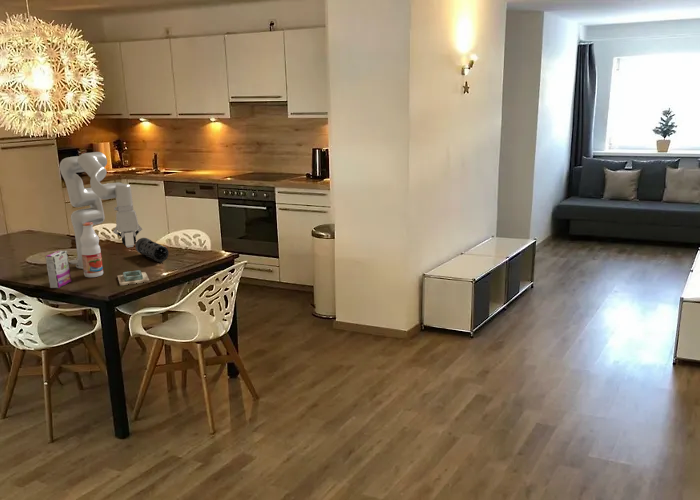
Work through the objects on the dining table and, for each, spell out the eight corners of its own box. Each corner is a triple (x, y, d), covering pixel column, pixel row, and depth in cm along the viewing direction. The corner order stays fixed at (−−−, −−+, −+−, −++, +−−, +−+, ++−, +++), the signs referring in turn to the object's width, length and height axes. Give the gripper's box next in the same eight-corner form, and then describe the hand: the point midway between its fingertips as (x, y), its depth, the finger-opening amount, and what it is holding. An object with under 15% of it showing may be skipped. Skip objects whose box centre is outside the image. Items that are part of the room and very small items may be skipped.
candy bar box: (62, 281, 325) (58, 250, 321) (71, 281, 324) (67, 250, 320) (49, 288, 314) (44, 256, 310) (58, 288, 313) (54, 256, 309)
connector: (126, 247, 321) (124, 233, 319) (124, 245, 327) (123, 231, 325) (134, 246, 323) (132, 232, 321) (133, 244, 328) (131, 230, 326)
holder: (120, 285, 316) (119, 279, 315) (117, 277, 330) (116, 271, 330) (149, 281, 321) (148, 276, 321) (145, 273, 336) (145, 268, 335)
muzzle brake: (153, 265, 352) (151, 246, 350) (134, 255, 374) (133, 238, 371) (170, 262, 358) (168, 244, 356) (150, 252, 379) (149, 235, 377)
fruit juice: (93, 272, 341) (87, 220, 334) (107, 273, 338) (101, 221, 331) (80, 276, 332) (73, 224, 325) (94, 278, 329) (88, 225, 322)
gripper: (108, 211, 313) (112, 247, 318) (143, 208, 320) (147, 243, 324) (107, 209, 320) (111, 244, 324) (141, 206, 327) (145, 240, 331)
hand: (129, 243), depth 324 cm, fingers closed on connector, 4 cm apart
